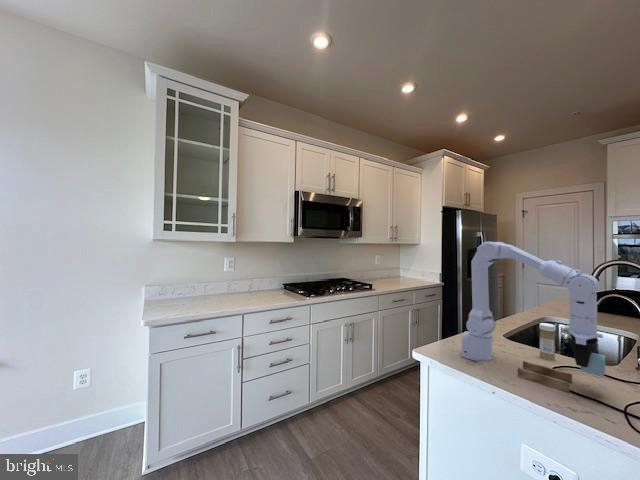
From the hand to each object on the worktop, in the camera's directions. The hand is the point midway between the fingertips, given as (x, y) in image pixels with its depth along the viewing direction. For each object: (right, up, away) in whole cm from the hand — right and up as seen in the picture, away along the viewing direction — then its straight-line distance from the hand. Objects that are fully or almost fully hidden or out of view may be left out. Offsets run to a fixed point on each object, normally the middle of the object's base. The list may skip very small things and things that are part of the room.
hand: (582, 363), depth 78 cm
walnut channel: (-6, -9, +6) cm, 12 cm away
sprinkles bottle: (+8, -9, +22) cm, 25 cm away
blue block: (0, +1, 0) cm, 1 cm away
